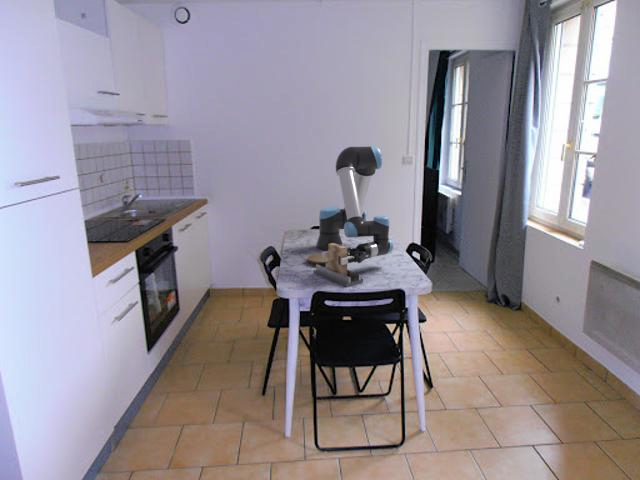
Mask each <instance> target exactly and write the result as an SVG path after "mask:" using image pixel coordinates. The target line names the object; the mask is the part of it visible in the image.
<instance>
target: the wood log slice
mask: <svg viewBox="0 0 640 480" xmlns="http://www.w3.org/2000/svg"><path fill="white" fill-rule="evenodd" d="M306 259H307V261H306V262H307V264H308V265H309V266H311V265H312V266H311V267H315V266H316V265H320V266H322V267H325V268H326V263H328V257H327V258H322V253H313V254H310V255H308V256H307V258H306Z"/></svg>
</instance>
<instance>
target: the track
mask: <svg viewBox="0 0 640 480" xmlns="http://www.w3.org/2000/svg"><path fill="white" fill-rule="evenodd" d="M312 273H313V275H315V274H316V276H318V277H320V276H321V277H320V278H323V279H325V280H327V281H329V282H333V283H335V284H338V285H340V286H343V287H345V288H349V287H352V286H355V285H358V284H362V283H364V278H361V277H362V275H361V274H360V273H357V272H355V271H352V270H349V269H347V276H346V275H343V274H341V273H338V272H335V271H333V270H330V269H328V263H326V267H322V266H320V265H316V267H315V269H314V270H313V271H312Z"/></svg>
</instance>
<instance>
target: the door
mask: <svg viewBox="0 0 640 480" xmlns="http://www.w3.org/2000/svg"><path fill="white" fill-rule="evenodd" d="M347 248H348V247H347V246H344V245H343V244H342V245H338V244H335V243H331V244H328V250H327V251H328V269H330V270H333V271H335V272H338V273H341V274H343V275H346V276H347V270H348V264H344V265H341V259H342V258H346V257H348V256H347Z"/></svg>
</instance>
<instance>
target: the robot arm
mask: <svg viewBox="0 0 640 480" xmlns="http://www.w3.org/2000/svg"><path fill="white" fill-rule="evenodd" d="M335 162H336V163H335V173H336V175H337V176H338V177H339V179H338V180H339V183H340V188H341V194H342V199H343V204H344V207H343V208H340V207H339V206H327V207H324V208H322V209H320V211H319V216H318V218H319V219H318V220H319V222H318V223H319V224H318V225H319V235H318V238H317V241H316V248H317V249H318V250H321V251H322V258H327V257H328V244H331V243H335V244H338V245H342V246H343V242H342V238H341V235H340V230H343V233H344V235H345V237H346V238H349V239H351V238H352V239H353V238H354V239H356V238H365V237H366V238H367V237H372V239H373V240H372V241H369V242H363V243H359V244H358V245H357V246H356V247H354V248H351V246H350V247H347V257H346V258H342V259H341V265H344V264H347V265H348V264H353V263H357V264H360V263H362V262H363V261H365V260H368V259H372V258H375V257H379V256H386V255H388V254H391V253H392V251H393V250H394V244H393V240H391V239H390V238H389V234H390V219H389V218H390V217H388V216H385V215H375V216H374V217H373V219H372V220H367V211H366V209H365V207H364V204H365V200H366V197H367V193H368V188H369V185H370V181H371V178H372V176H374V175H375V174H376V171H377V170H380V169H381V168H382V164H383V157H382V152H381V150H380V148H379V147H377V146H372V145H369V146H348V147H346V148H344V149H343V150H342V151H341V152H340V153H339V155H338V156H337V159H336V161H335Z"/></svg>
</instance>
